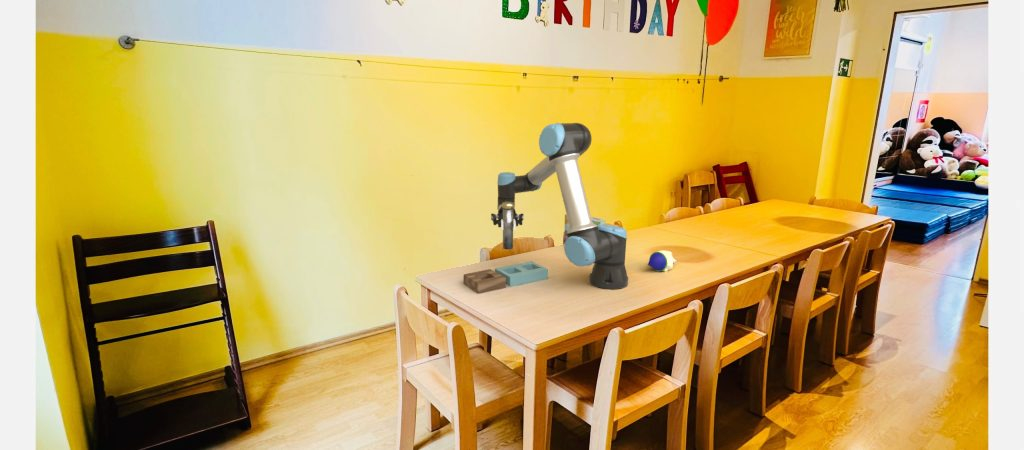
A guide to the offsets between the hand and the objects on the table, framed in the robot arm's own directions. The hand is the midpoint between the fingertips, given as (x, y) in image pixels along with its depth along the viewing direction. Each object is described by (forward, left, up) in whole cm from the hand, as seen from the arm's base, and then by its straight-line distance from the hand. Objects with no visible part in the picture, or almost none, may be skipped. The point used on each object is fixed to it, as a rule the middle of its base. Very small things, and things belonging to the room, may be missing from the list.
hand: (508, 226), depth 188 cm
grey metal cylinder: (+5, -3, -10) cm, 11 cm away
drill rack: (+5, -9, -24) cm, 26 cm away
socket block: (+5, +8, -24) cm, 26 cm away
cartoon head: (-17, -66, -24) cm, 73 cm away
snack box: (+28, -61, -24) cm, 71 cm away
